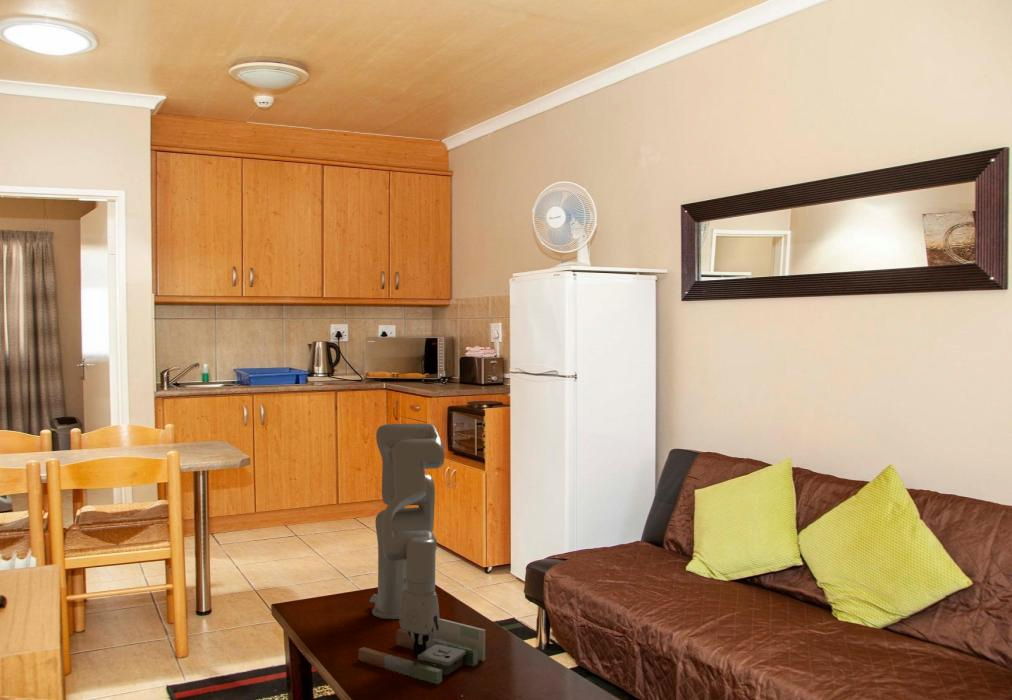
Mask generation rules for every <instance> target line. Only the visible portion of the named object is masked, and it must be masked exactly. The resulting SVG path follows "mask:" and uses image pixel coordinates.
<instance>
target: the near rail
mask: <svg viewBox="0 0 1012 700" xmlns="http://www.w3.org/2000/svg"><path fill="white" fill-rule="evenodd" d="M357 652H358V657H357V658H358V660H360V661H362V662H361V663H364V662H366V663H365V664H367V663H369V664H368V665H370V664H372V665H371V666H373V665H376V666H375V667H377V666H379V667H378V668H380V667H383V668H386V669H385V670H387V669H389V670H388V671H390V670H392V671H391V672H393V671H395V672H394V673H396V672H399V673H398V674H400V673H401V675H403V674H404V675H403V676H406V675H408V676H407V677H409V676H411V677H410V678H413V677H414V678H413V679H416V678H417V680H419V679H420V680H419V681H422V680H425V681H424V682H426V681H428V682H427V683H429V682H431V683H430V684H432V683H435V684H437V685H439V684H441V683H443V674H442V670H441V669H437V668H434V667H435V666H433V667H430V666H427V665H424V664H421V662H417V661H413V660H409V659H406V658H402V657H399V656H396V655H393V654H389V653H386V652H382V651H378V650H376V649H372V648H367V647H364V646H363V647H361V648H358V651H357ZM360 661H359V662H360ZM383 668H382V669H383ZM440 682H441V683H440ZM438 683H439V684H438ZM435 684H434V685H435Z"/></svg>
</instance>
